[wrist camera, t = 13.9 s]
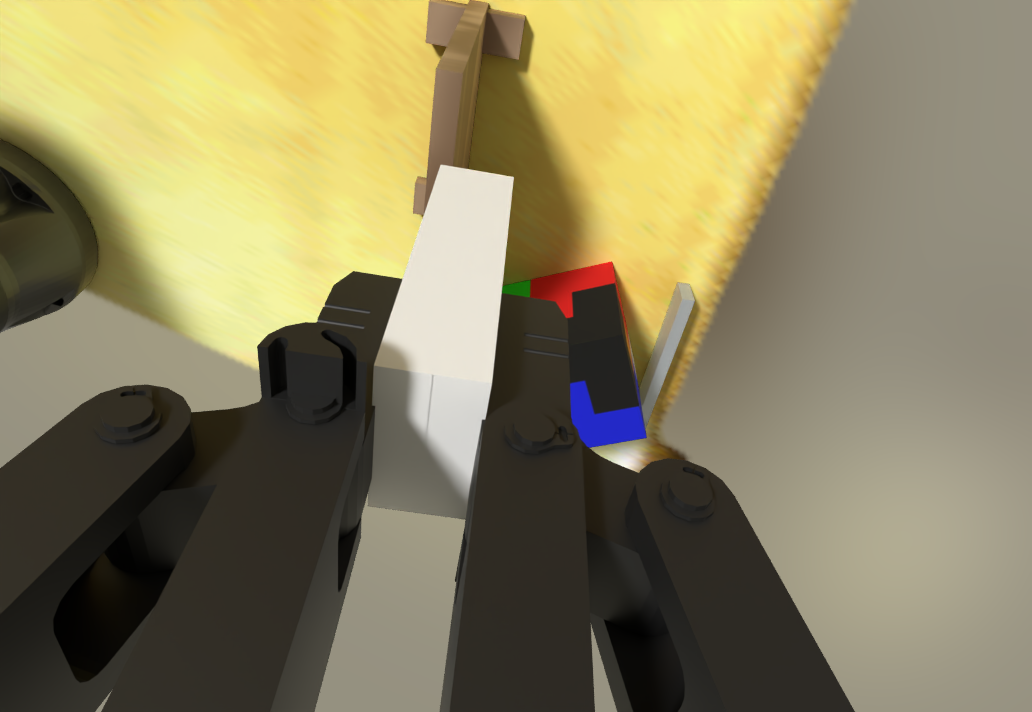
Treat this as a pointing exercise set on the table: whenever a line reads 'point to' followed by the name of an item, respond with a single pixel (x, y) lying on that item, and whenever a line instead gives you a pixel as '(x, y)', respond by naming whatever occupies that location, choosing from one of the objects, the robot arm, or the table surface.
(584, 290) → the puzzle toy
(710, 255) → the table surface
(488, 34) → the screen
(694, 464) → the robot arm
